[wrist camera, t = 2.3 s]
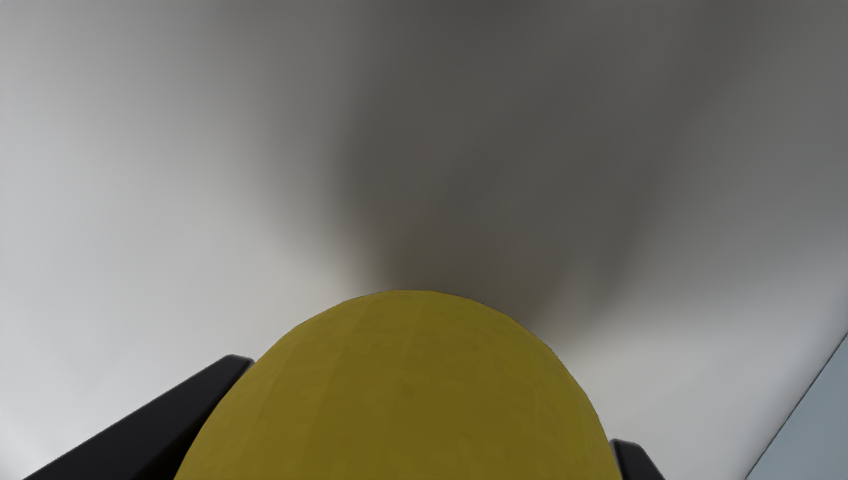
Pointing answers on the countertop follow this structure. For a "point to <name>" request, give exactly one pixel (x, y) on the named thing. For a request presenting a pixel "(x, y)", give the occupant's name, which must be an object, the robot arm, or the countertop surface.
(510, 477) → the lemon
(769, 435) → the countertop surface
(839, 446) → the dish
